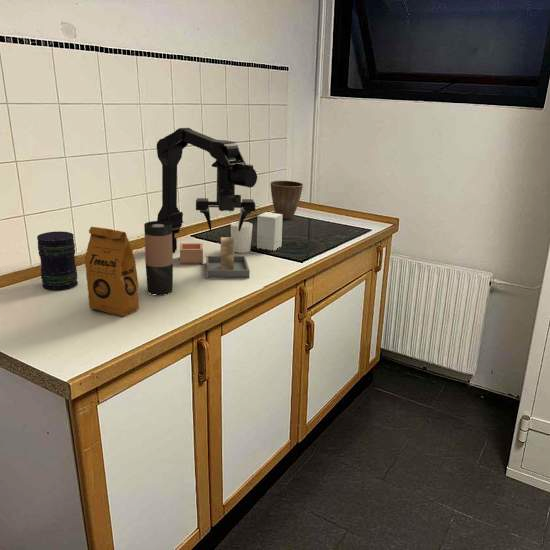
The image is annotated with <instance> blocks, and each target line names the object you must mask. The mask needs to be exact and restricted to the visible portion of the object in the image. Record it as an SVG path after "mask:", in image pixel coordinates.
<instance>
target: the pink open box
mask: <svg viewBox="0 0 550 550" xmlns="http://www.w3.org/2000/svg"><path fill="white" fill-rule="evenodd" d="M197 263H198V264H197ZM199 263H203V264H204V247H203V243H202V242H200V243H199V242H198V243H196V242H189V243H188V242H186V243H185V242H184V243H181V242H180V243H179V264H180V265H199Z"/></svg>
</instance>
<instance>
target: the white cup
mask: <svg viewBox="0 0 550 550" xmlns="http://www.w3.org/2000/svg"><path fill="white" fill-rule="evenodd" d="M238 225H239V221H233V222H231V223H230V237H233V239H234V253H236V252H239V253H238V254H246V252H247V253H249V252H251V244H252V238H253V237H252V234H253V223H251V222H249V221H244V222H243V224H242V227H241V230H240V231H238Z"/></svg>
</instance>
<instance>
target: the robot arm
mask: <svg viewBox="0 0 550 550" xmlns="http://www.w3.org/2000/svg"><path fill="white" fill-rule="evenodd" d="M188 145H191V146H194V147H196V148H198V149H201V150H202V151H206V152H207V153H208V154H209V155H210V156H211V158H213V159H214V160H215V161H214V162H212V164H211V167H212V168H216V200H215V201H213V200H212V201H211V200H209V198H205V197H204V198H203V197H198V198H196V199H195V210H196V211H199V213H200V214H203V215H204V217H205V219H206V222H207V226H208V228H209V231H210V232H212V223H211V214H210V213H211V211H210V208H218V210H219V211H220V212H224V211H225V212H227V211H228V212H234V211H235V209H240V211H239V218H238V222H239V225H238V231H240V230H241V227H242V224H243V222H245V219H246V217H247V216H248V215H250V214H252V212H256V203H255V201H254V199H252V198H251V199H249V198H246V199H245V198H242V194H236V193H235V192H236V191H235V190H236V186H240V187H246V188H253V187H254V186H255V185H256V184H257V181H258V174H257V171H256V169H254V165H253V164H251V163H250V164H247V163H246V160H245V159H244V157H243V155H242V153H241V151H240V148H239V145H238V144H237V143H236V142H235V141H232V140H225V139H224V140H223V139H216V138H213V137H211V136H208V135H206V134H203V133H200V132H198V131H196V130H193V129H192V128H190V127H179V128H177V129H176V130H175V131H173V132H172V133H170V134H167V135H166V136H164V137H163V138H160V139H159V140H158V141H157V142H156V152H157V153H156V154H157V158H158V160H159V161H160V163H161V165H162V166H161V167H162V168H161V170H162V171H161V175H162V176H161V182H162V183H161V185H162V186H161V187H162V189H161V190H162V191H161V192H162V193H161V196H162V198H161V200H162V201H161V202H162V204H161V207H160V209H159V212H158V213H157V219H156V221H166V222H169V223H171V225H172V251H173V254H175V253H176V251H177V249H178V247H177V246H178V241H177V240H178V237H177V236H176V234H179V233H180V231H181V228H182V225H183V223H184V219H183V215H184V213H183V211H180V209H179V208H178V205H177V204H178V165H179V163H180V161H181V159H182V157H183V156H182V155H183V150H184V149H185V148H186V147H188Z"/></svg>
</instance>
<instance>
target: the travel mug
mask: <svg viewBox="0 0 550 550" xmlns="http://www.w3.org/2000/svg"><path fill="white" fill-rule="evenodd" d="M143 225H144V228H143V229H144V257H145V258H144V259H145V273H146V274H145V276H146V288H147V293H148V292H149V293H151V294H150V295H152V294H156V295H155V296H165V295H164V294H167V295H169V294H168V293H170V294H171V293H172V292H173V288H174V287H173V286H174V285H173V284H174V276H173V275H174V261H173V260H174V257H173V256H174V255H173V254H174V253H173V251H172V225H171V223H169V222H166V221H157V220H153V221H152V220H151V221H147V222H146V223H144V224H143ZM149 293H148V294H149Z"/></svg>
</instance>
